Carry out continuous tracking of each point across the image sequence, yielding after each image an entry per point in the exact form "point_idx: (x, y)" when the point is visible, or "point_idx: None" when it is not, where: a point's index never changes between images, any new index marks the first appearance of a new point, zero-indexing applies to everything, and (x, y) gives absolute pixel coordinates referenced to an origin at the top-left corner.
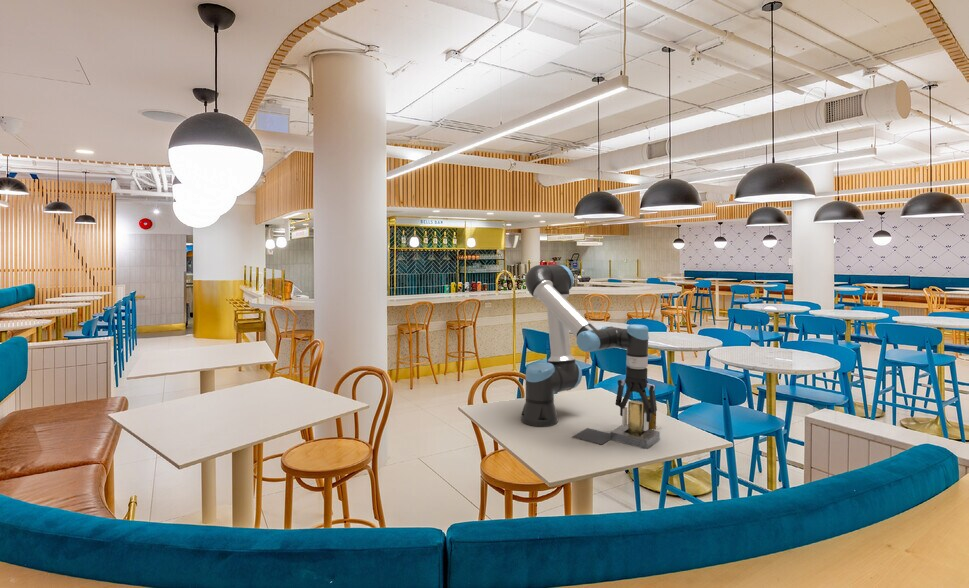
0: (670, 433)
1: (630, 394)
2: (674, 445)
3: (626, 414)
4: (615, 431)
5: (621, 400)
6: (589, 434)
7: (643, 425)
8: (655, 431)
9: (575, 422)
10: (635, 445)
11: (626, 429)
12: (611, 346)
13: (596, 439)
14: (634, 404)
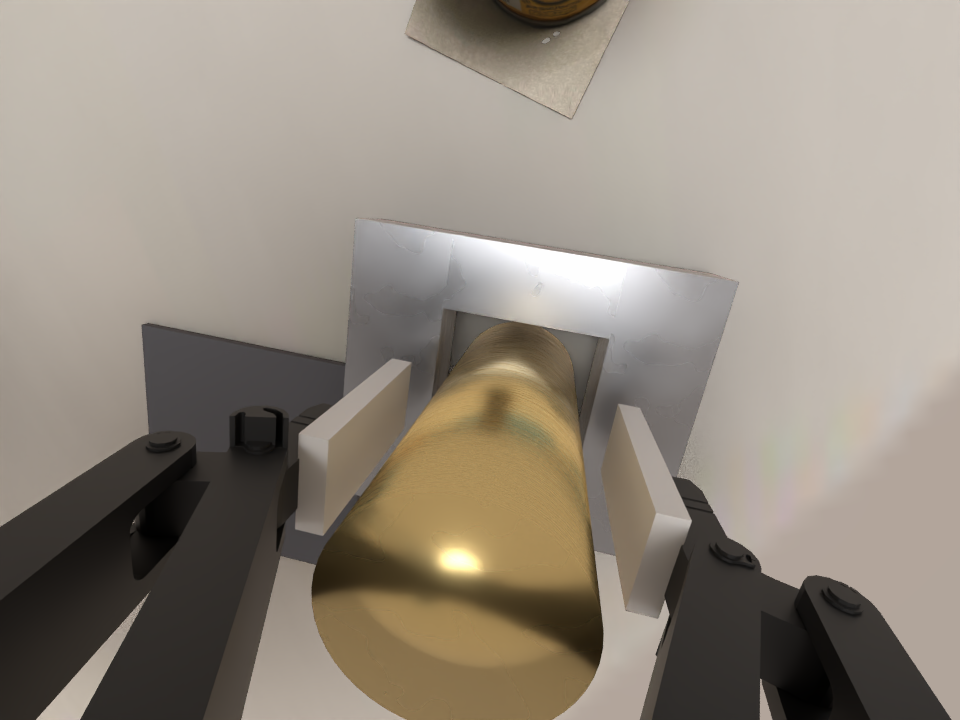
0: (818, 11)
1: (220, 683)
2: (853, 353)
3: (368, 423)
4: None
5: (158, 477)
6: (216, 448)
7: (519, 9)
8: (694, 298)
9: (11, 222)
10: None
11: (428, 378)
12: None
13: (292, 515)
14: None
